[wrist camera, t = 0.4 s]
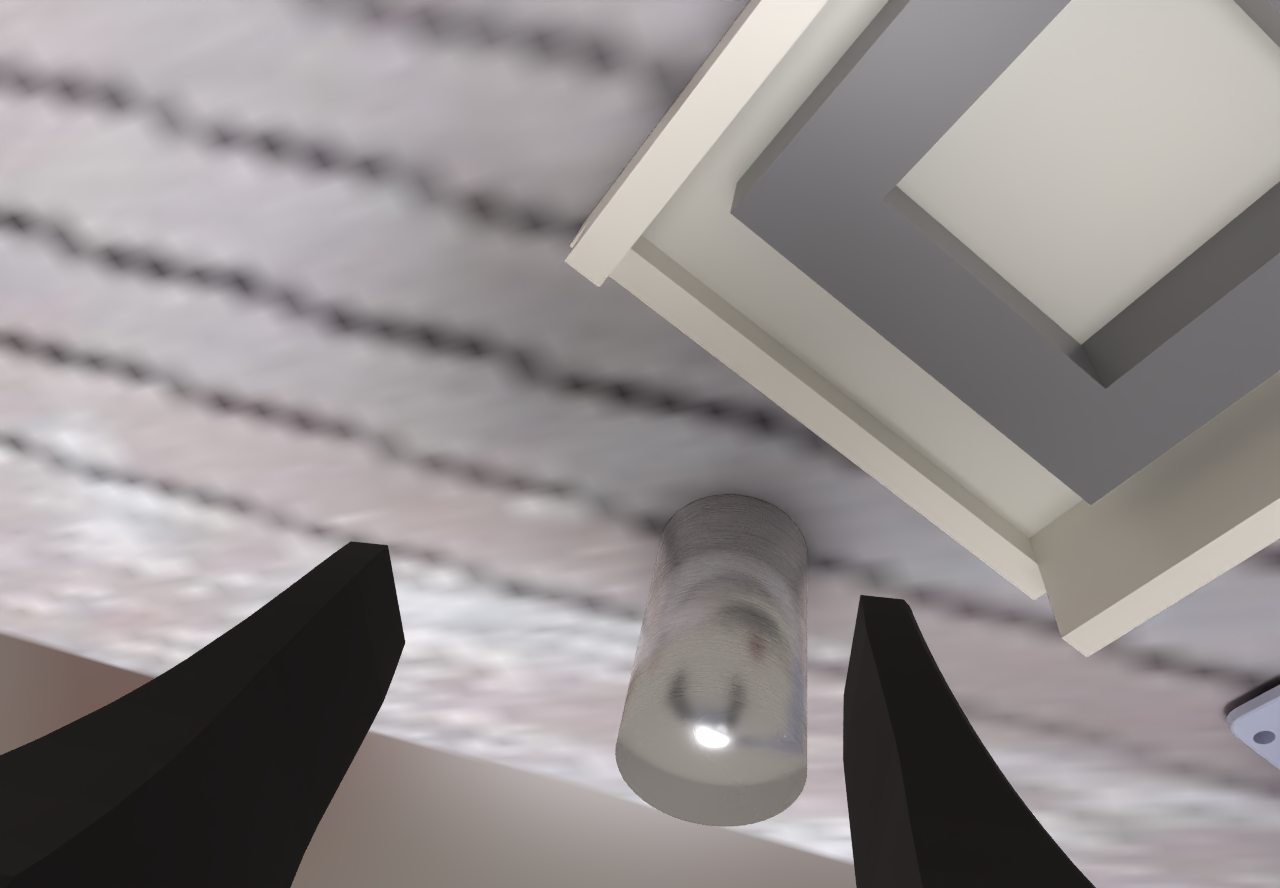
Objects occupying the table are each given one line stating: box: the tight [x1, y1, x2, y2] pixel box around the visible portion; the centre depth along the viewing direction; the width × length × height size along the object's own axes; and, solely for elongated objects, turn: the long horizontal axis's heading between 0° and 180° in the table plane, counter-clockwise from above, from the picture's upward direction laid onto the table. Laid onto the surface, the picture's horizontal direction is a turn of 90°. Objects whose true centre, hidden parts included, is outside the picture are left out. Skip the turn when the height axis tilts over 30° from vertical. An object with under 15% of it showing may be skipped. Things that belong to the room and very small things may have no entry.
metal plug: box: [615, 495, 808, 826], centre depth 22 cm, size 4×4×7 cm
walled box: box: [565, 0, 1280, 657], centre depth 17 cm, size 14×16×4 cm
